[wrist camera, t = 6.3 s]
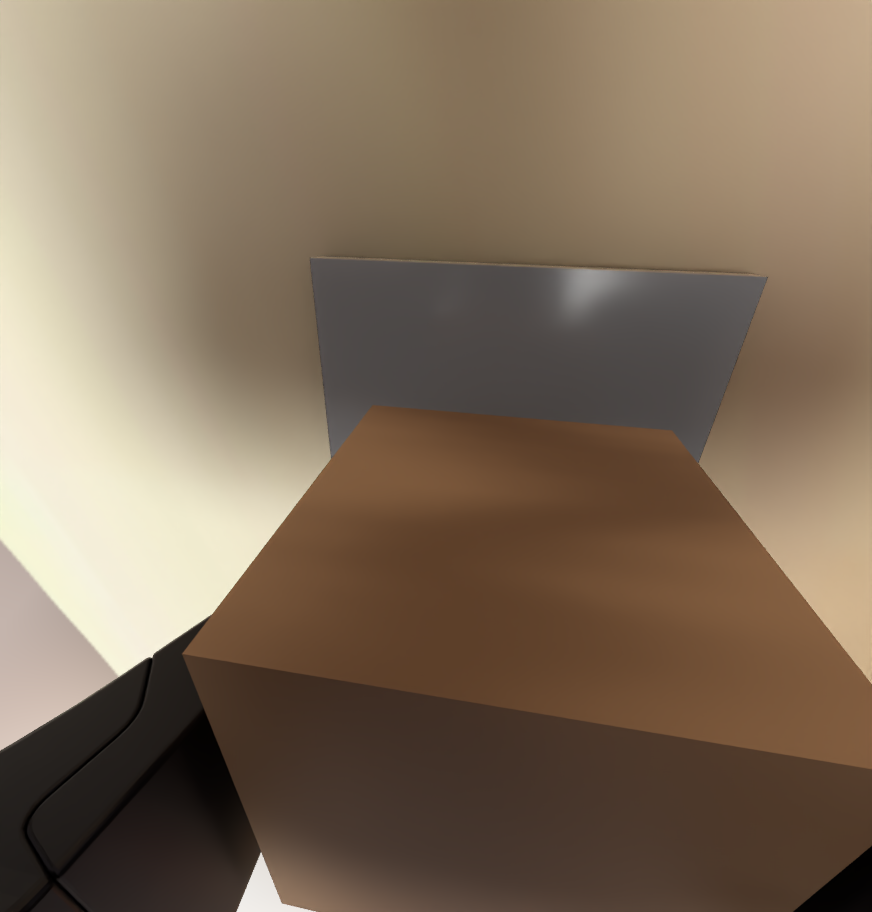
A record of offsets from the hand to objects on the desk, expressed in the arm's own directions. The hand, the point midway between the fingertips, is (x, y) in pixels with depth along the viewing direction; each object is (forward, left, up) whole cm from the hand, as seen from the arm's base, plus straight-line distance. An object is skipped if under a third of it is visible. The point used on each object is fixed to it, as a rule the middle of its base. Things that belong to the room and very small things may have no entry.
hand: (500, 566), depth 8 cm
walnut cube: (0, 0, -1) cm, 1 cm away
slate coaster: (0, 0, -4) cm, 4 cm away
